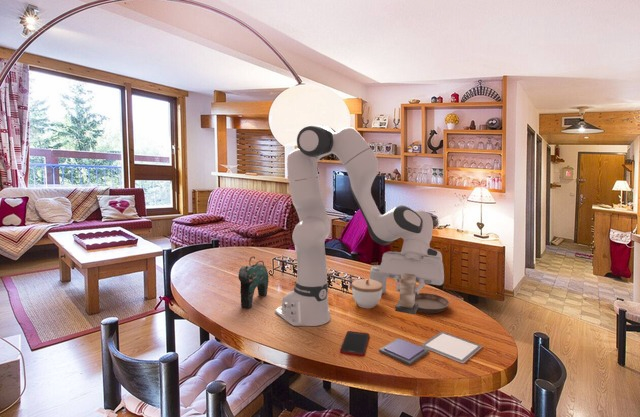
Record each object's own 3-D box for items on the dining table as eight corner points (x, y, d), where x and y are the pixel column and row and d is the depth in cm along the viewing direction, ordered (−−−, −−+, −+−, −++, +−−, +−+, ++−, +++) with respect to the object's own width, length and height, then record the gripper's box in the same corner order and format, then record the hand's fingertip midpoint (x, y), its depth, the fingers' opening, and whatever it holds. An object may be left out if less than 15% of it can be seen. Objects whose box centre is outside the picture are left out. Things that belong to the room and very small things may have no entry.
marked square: (420, 346, 120) (421, 344, 120) (441, 333, 130) (441, 331, 130) (463, 363, 111) (463, 361, 111) (481, 347, 120) (482, 345, 120)
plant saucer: (399, 310, 150) (399, 303, 150) (410, 296, 166) (410, 289, 166) (444, 319, 142) (445, 311, 142) (451, 304, 158) (452, 297, 157)
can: (387, 295, 166) (388, 269, 165) (370, 294, 167) (371, 268, 165) (384, 289, 174) (385, 264, 172) (368, 289, 174) (369, 264, 172)
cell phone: (369, 336, 128) (369, 333, 128) (364, 357, 114) (364, 354, 114) (347, 333, 130) (347, 330, 130) (339, 354, 116) (339, 351, 116)
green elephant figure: (248, 311, 147) (248, 262, 144) (234, 309, 149) (233, 260, 146) (271, 294, 165) (271, 250, 163) (258, 292, 167) (258, 249, 165)
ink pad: (379, 351, 117) (379, 347, 117) (398, 340, 125) (398, 336, 124) (409, 365, 109) (409, 361, 109) (428, 352, 117) (428, 348, 117)
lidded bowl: (360, 312, 147) (361, 285, 145) (346, 301, 158) (346, 276, 157) (387, 308, 152) (388, 282, 150) (371, 297, 163) (372, 273, 162)
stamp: (395, 311, 115) (396, 276, 114) (399, 304, 121) (400, 271, 119) (414, 314, 113) (416, 279, 111) (418, 307, 118) (419, 274, 117)
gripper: (382, 245, 125) (373, 282, 117) (446, 252, 117) (440, 292, 109) (385, 255, 130) (376, 291, 122) (446, 263, 121) (441, 302, 114)
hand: (407, 291), depth 115 cm, fingers closed on stamp, 4 cm apart
